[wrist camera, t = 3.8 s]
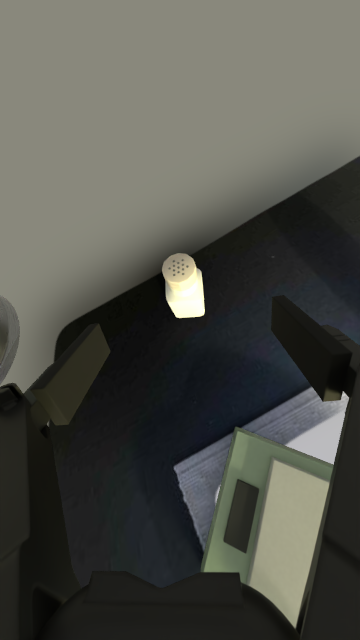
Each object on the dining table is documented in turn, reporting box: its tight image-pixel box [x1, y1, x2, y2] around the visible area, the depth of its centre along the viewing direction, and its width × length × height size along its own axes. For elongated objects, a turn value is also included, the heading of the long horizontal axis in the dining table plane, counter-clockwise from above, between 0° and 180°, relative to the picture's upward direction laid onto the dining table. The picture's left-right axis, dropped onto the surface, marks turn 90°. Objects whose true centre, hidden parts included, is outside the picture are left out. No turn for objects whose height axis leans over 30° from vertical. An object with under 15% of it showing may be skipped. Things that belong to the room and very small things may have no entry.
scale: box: [201, 426, 334, 628], centre depth 18 cm, size 15×13×3 cm
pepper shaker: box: [162, 253, 205, 318], centre depth 23 cm, size 4×4×10 cm
